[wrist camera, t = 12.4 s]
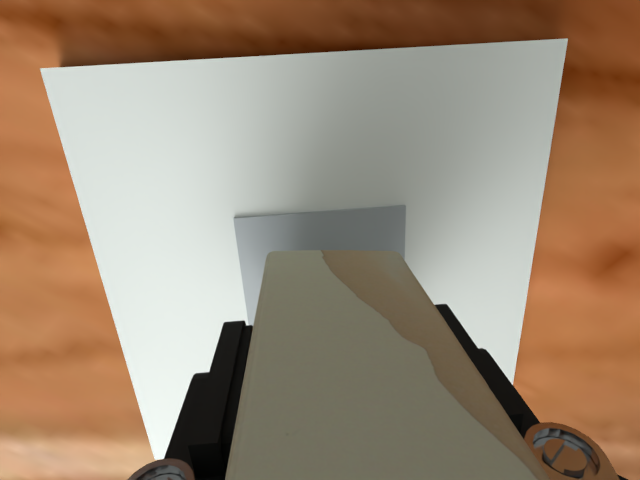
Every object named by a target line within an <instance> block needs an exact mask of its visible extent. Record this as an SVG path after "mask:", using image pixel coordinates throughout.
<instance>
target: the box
mask: <svg viewBox="0 0 640 480" xmlns="http://www.w3.org/2000/svg"><path fill="white" fill-rule="evenodd" d="M225 480H550V478H549V477H548V475H547V474H546V472H545V471H544V469H543V468H542V466H541V465H540V463H539V462H538V460H537V459H536V457H535V456H534V454H533V453H532V451H531V450H530V448H529V446H528V445H527V444H526V442H525V441H524V439H523V438H522V436H521V435H520V433H519V432H518V430H517V429H516V427H515V426H514V424H513V423H512V421H511V419H510V418H509V416H508V415H507V413H506V412H505V410H504V409H503V407H502V406H501V404H500V403H499V401H498V400H497V398H496V397H495V396H494V394H493V393H492V391H491V390H490V388H489V386H488V385H487V383H486V382H485V380H484V379H483V377H482V376H481V374H480V373H479V371H478V370H477V368H476V367H475V365H474V364H473V362H472V361H471V359H470V358H469V357H468V355H467V354H466V352H465V351H464V349H463V348H462V346H461V344H460V343H459V341H458V340H457V338H456V337H455V335H454V334H453V332H452V331H451V329H450V328H449V326H448V325H447V323H446V321H445V320H444V318H443V317H442V315H441V314H440V313H439V311H438V310H437V308H436V307H435V305H434V304H433V302H432V301H431V299H430V298H429V296H428V295H427V293H426V292H425V290H424V289H423V287H422V286H421V284H420V283H419V282H418V280H417V279H416V277H415V276H414V274H413V273H412V271H411V270H410V268H409V266H408V265H407V263H406V262H405V260H404V259H403V257H402V256H401V255H400V253H398V252H395V251H365V250H300V251H272V252H270V253H268V255H267V257H266V261H265V266H264V272H263V278H262V283H261V289H260V294H259V299H258V304H257V309H256V314H255V320H254V325H253V330H252V336H251V342H250V347H249V352H248V358H247V363H246V369H245V374H244V379H243V385H242V390H241V396H240V401H239V407H238V413H237V418H236V423H235V429H234V434H233V439H232V445H231V450H230V456H229V461H228V466H227V472H226V477H225Z"/></svg>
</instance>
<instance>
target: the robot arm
mask: <svg viewBox="0 0 640 480" xmlns="http://www.w3.org/2000/svg"><path fill="white" fill-rule="evenodd" d="M435 307H436V308H437V310H438V311H439V313H440V314H441V315H442V317H443V318H444V320H445V321H446V323H447V325H448V326H449V328H450V329H451V331H452V332H453V334H454V335H455V337H456V338H457V340H458V341H459V343H460V344H461V346H462V348H463V349H464V351H465V352H466V354H467V355H468V357H469V358H470V359H471V361H472V362H473V364H474V365H475V367H476V368H477V370H478V371H479V373H480V374H481V376H482V377H483V379H484V380H485V382H486V383H487V385H488V386H489V388H490V390H491V391H492V393H493V394H494V396H495V397H496V398H497V400H498V401H499V403H500V404H501V406H502V407H503V409H504V410H505V412H506V413H507V415H508V416H509V418H510V419H511V421H512V423H513V424H514V426H515V427H516V429H517V430H518V432H519V433H520V435H521V436H522V438H523V439H524V441H525V442H526V444H527V445H528V446H529V448H530V450H531V451H532V453H533V454H534V456H535V457H536V459H537V460H538V462H539V463H540V465H541V466H542V468H543V469H544V471H545V472H546V474H547V475H548V477H549V478H550V480H628V479H625V478H623V477H621V476H619V475H617V474H616V472H615V470H614V468H613V467H612V465H611V463H610V461H609V459H608V458H607V456H606V455H605V453H604V452H603V451H602V449H601V448H600V447H599V445H597V444H596V443H595V442H594V441H593V440H592V439H591V438H589V437H588V436H586V435H585V434H583V433H581V432H580V431H578V430H576V429H574V428H571V427H569V426H566V425H563V424H558V423H552V422H549V423H540V422H539V421H538V419H537V418H536V416H535V415H534V414H533V412H532V411H531V410H530V408H529V407H528V406H527V404H526V403H525V401H524V400H523V399H522V397H521V396H520V395H519V393H518V392H517V390H516V389H515V388H514V386H513V385H512V384H511V382H510V381H509V380H508V378H507V377H506V375H505V374H504V373H503V371H502V370H501V369H500V367H499V366H498V364H497V363H496V362H495V360H494V359H493V358H492V356H491V355H490V353H489V352H488V351H487V350H486V349H483V348H477V346H476V345H475V343H474V342H473V340H472V339H471V338H470V336H469V335H468V333H467V332H466V330H465V329H464V328H463V326H462V325H461V323H460V322H459V320H458V319H457V318H456V316H455V315H454V313H453V312H452V310H451V309H450V308H449V306H448V305H447V304H436V305H435ZM252 330H253V326H252V325H246V323H245V321H244V320H243V321H231V322H224V324H223V326H222V330H221V333H220V337H219V340H218V343H217V347H216V350H215V354H214V357H213V360H212V364H211V367H210V371H209V372H204V373H195V374H194V375H193V377H192V379H191V382H190V385H189V388H188V391H187V393H186V396H185V399H184V402H183V405H182V408H181V411H180V414H179V417H178V419H177V422H176V425H175V428H174V431H173V434H172V437H171V440H170V443H169V445H168V448H167V451H166V454H165V457H164V459H161V460H157V461H154V462H152V463H150V464H147V465H145V466H144V467H142V468H141V469H139V470H138V471H136V472H135V473H134V474H133V475H132V476H131V477H130V478H129V479H128V480H225V477H226V472H227V466H228V461H229V456H230V450H231V445H232V439H233V434H234V429H235V423H236V418H237V413H238V407H239V401H240V396H241V390H242V385H243V379H244V374H245V369H246V363H247V358H248V352H249V347H250V342H251V336H252Z"/></svg>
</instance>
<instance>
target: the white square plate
mask: <svg viewBox="0 0 640 480" xmlns="http://www.w3.org/2000/svg"><path fill="white" fill-rule="evenodd" d="M567 42H568V38H567V39H549V40H532V41H514V42H497V43H479V44H462V45H444V46H427V47H409V48H392V49H374V50H356V51H339V52H321V53H304V54H286V55H269V56H251V57H234V58H216V59H199V60H181V61H164V62H146V63H129V64H111V65H93V66H76V67H58V68H41V69H40V71H41V74H42V77H43V81H44V84H45V88H46V91H47V94H48V98H49V101H50V105H51V108H52V111H53V115H54V118H55V122H56V125H57V128H58V132H59V135H60V139H61V142H62V145H63V149H64V152H65V156H66V159H67V162H68V166H69V169H70V173H71V176H72V179H73V183H74V186H75V190H76V193H77V196H78V200H79V203H80V207H81V210H82V213H83V217H84V220H85V224H86V227H87V230H88V234H89V237H90V241H91V244H92V247H93V251H94V254H95V258H96V261H97V264H98V268H99V271H100V275H101V278H102V281H103V285H104V288H105V292H106V295H107V298H108V302H109V305H110V309H111V312H112V315H113V319H114V322H115V326H116V329H117V332H118V336H119V339H120V343H121V346H122V349H123V353H124V356H125V360H126V363H127V366H128V370H129V373H130V377H131V380H132V384H133V387H134V390H135V394H136V397H137V401H138V404H139V407H140V411H141V414H142V418H143V421H144V424H145V428H146V431H147V435H148V438H149V441H150V445H151V448H152V452H153V455H154V458H155V460H157V459H164V457H165V454H166V451H167V448H168V445H169V443H170V440H171V437H172V434H173V431H174V428H175V425H176V422H177V419H178V417H179V414H180V411H181V408H182V405H183V402H184V399H185V396H186V393H187V391H188V388H189V385H190V382H191V379H192V377H193V375H194V374H195V373H204V372H209V371H210V367H211V364H212V360H213V357H214V354H215V350H216V347H217V343H218V340H219V337H220V333H221V330H222V326H223V324H224V322H231V321H243V320H244V321H245V323H246V325H252V326H253V325H254V320H255V314H256V309H257V304H258V299H259V294H260V289H261V283H262V278H263V272H264V266H265V261H266V257H267V255H268V253H270V252H272V251H300V250H365V251H395V252H398V253H400V255H401V256H402V257H403V259H404V260H405V262H406V263H407V265H408V266H409V268H410V270H411V271H412V273H413V274H414V276H415V277H416V279H417V280H418V282H419V283H420V284H421V286H422V287H423V289H424V290H425V292H426V293H427V295H428V296H429V298H430V299H431V301H432V302H433V304H434V305H436V304H447V305H448V306H449V308H450V309H451V310H452V312H453V313H454V315H455V316H456V318H457V319H458V320H459V322H460V323H461V325H462V326H463V328H464V329H465V330H466V332H467V333H468V335H469V336H470V338H471V339H472V340H473V342H474V343H475V345H476V346H477V348H483V349H486V350H487V351H488V352H489V353H490V355H491V356H492V358H493V359H494V360H495V362H496V363H497V364H498V366H499V367H500V369H501V370H502V371H503V373H504V374H505V375H506V377H507V378H508V380H509V381H510V382H511V384H512V385H513V380H514V374H515V368H516V361H517V355H518V349H519V343H520V336H521V330H522V324H523V317H524V311H525V305H526V299H527V292H528V286H529V280H530V274H531V267H532V261H533V255H534V249H535V242H536V236H537V230H538V223H539V217H540V211H541V205H542V198H543V192H544V186H545V180H546V173H547V167H548V161H549V155H550V148H551V142H552V136H553V130H554V123H555V117H556V111H557V104H558V98H559V92H560V86H561V79H562V73H563V67H564V61H565V54H566V48H567Z"/></svg>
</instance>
